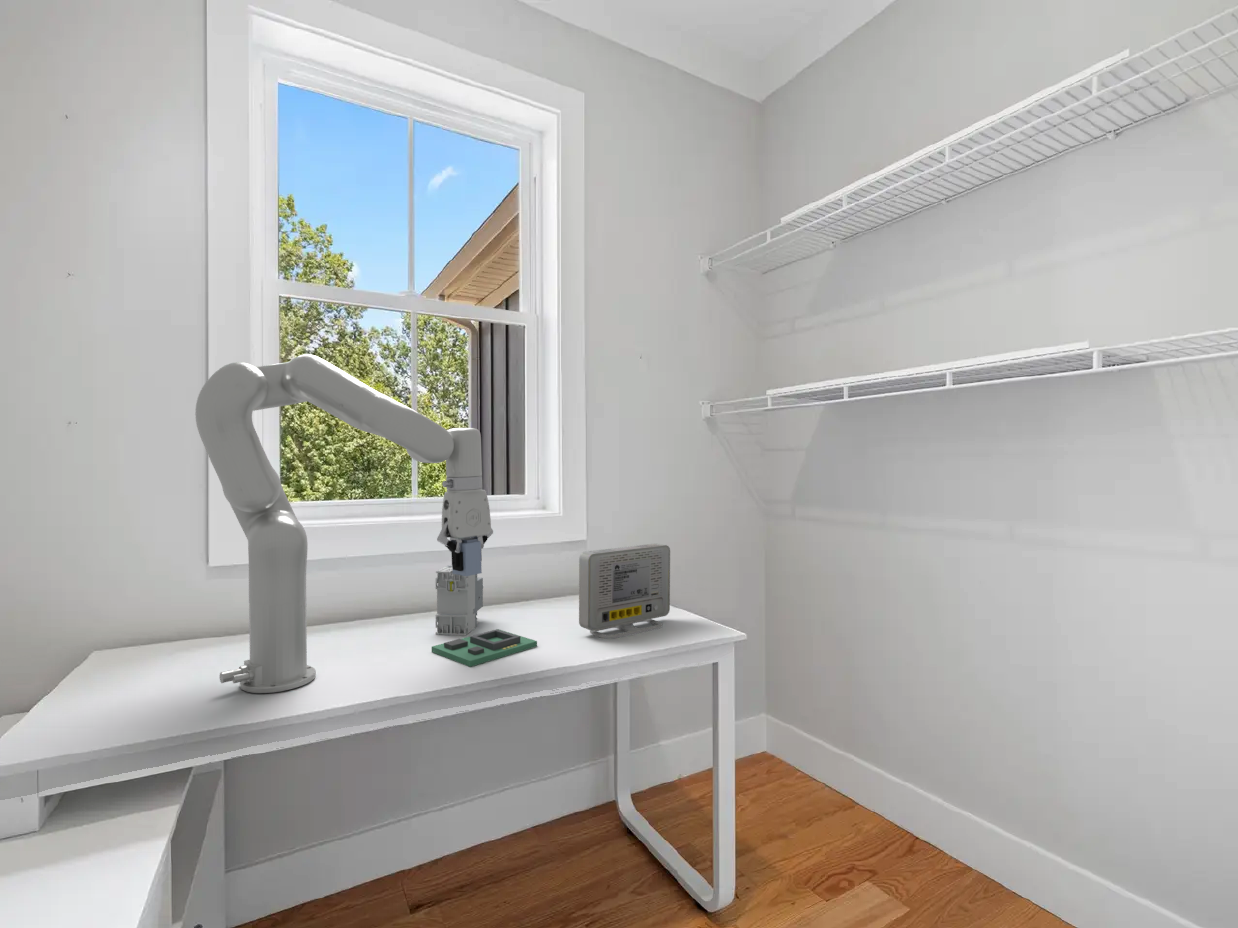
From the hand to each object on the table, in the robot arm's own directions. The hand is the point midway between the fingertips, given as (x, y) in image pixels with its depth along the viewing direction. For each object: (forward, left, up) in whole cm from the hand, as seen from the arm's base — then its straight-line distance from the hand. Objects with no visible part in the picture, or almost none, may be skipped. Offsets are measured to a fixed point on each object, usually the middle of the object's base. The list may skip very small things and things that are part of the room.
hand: (467, 567), depth 138 cm
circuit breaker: (+10, +17, -18) cm, 27 cm away
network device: (+36, -15, -18) cm, 43 cm away
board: (+3, -2, -18) cm, 19 cm away
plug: (0, 0, -1) cm, 1 cm away
